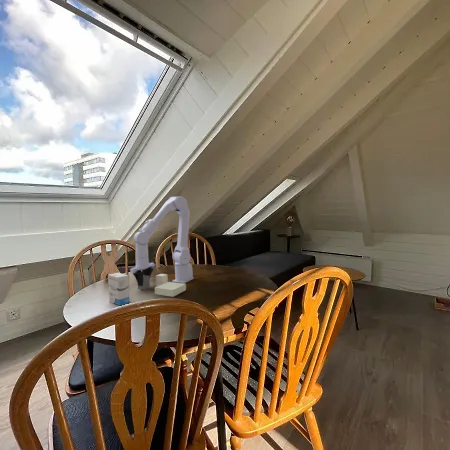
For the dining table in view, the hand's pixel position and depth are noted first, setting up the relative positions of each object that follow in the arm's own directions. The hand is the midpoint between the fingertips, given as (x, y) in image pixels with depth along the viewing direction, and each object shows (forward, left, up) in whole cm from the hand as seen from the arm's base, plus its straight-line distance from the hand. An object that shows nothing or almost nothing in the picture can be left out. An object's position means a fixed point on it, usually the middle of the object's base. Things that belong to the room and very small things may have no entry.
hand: (143, 284), depth 137 cm
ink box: (+19, +4, -2) cm, 20 cm away
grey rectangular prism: (0, 0, -2) cm, 2 cm away
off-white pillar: (-5, +7, -2) cm, 9 cm away
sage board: (0, +16, -2) cm, 16 cm away
